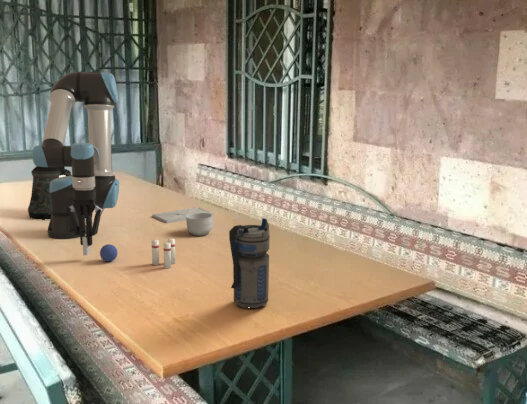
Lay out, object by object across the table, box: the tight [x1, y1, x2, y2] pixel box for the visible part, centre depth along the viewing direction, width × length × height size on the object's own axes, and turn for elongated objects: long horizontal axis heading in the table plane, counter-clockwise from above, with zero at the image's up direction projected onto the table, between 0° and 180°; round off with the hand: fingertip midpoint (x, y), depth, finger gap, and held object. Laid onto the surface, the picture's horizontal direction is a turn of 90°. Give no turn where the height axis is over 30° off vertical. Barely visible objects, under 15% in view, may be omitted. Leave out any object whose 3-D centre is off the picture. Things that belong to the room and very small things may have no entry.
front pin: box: [151, 239, 160, 266], centre depth 213 cm, size 2×2×8 cm
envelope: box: [151, 206, 214, 224], centre depth 281 cm, size 24×2×14 cm
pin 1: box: [162, 242, 172, 269], centre depth 209 cm, size 2×2×8 cm
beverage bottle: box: [228, 217, 271, 309], centre depth 176 cm, size 10×13×25 cm
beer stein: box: [27, 165, 72, 221], centre depth 277 cm, size 16×19×25 cm
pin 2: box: [167, 238, 176, 265], centre depth 214 cm, size 2×2×8 cm
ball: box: [99, 244, 118, 262], centre depth 215 cm, size 6×6×6 cm
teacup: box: [185, 212, 213, 237], centre depth 253 cm, size 14×11×8 cm
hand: (87, 254), depth 216 cm, fingers closed
